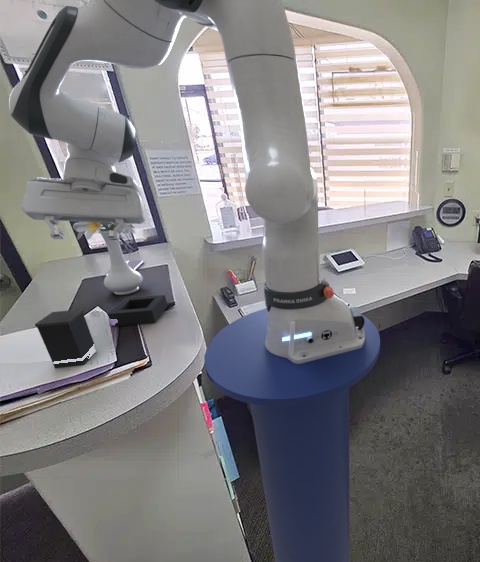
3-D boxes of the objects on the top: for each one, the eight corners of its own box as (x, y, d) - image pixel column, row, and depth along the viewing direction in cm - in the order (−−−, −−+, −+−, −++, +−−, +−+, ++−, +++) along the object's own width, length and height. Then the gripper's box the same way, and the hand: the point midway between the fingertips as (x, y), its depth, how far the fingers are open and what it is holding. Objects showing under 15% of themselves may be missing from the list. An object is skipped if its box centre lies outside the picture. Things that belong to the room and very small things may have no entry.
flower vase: (150, 277, 105) (131, 202, 96) (151, 296, 91) (129, 211, 82) (101, 284, 98) (74, 204, 89) (94, 307, 84) (61, 215, 75)
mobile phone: (103, 274, 103) (119, 260, 116) (104, 277, 104) (120, 263, 116) (130, 272, 106) (143, 259, 119) (131, 275, 106) (144, 261, 119)
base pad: (167, 306, 86) (164, 294, 85) (155, 322, 78) (151, 310, 76) (128, 309, 84) (124, 297, 82) (111, 326, 75) (106, 314, 74)
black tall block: (98, 350, 66) (82, 309, 62) (84, 365, 62) (67, 321, 58) (69, 353, 65) (52, 311, 61) (54, 368, 60) (34, 324, 57)
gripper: (18, 168, 63) (9, 230, 60) (141, 179, 71) (139, 234, 68) (36, 184, 68) (28, 243, 65) (148, 193, 77) (146, 245, 74)
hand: (86, 238), depth 67 cm, fingers open, 8 cm apart
